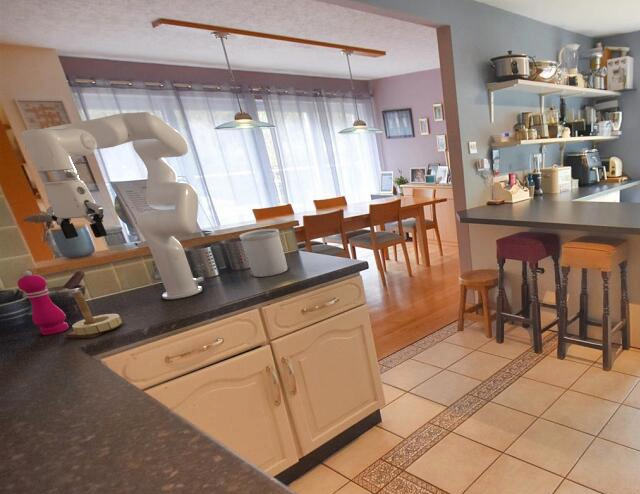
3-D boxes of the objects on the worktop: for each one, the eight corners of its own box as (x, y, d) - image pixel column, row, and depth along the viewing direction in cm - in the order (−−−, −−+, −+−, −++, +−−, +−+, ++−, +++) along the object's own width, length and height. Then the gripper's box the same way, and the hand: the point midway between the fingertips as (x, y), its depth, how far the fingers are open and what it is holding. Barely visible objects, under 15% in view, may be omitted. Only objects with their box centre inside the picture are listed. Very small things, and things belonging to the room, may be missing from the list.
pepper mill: (51, 336, 134) (20, 274, 127) (33, 335, 136) (1, 274, 128) (77, 326, 141) (49, 267, 133) (60, 326, 142) (31, 267, 135)
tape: (99, 321, 141) (96, 314, 140) (130, 320, 140) (127, 313, 139) (65, 335, 131) (62, 328, 130) (98, 334, 130) (95, 327, 129)
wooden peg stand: (96, 325, 140) (78, 287, 135) (121, 325, 139) (104, 286, 134) (67, 338, 132) (47, 297, 127) (93, 337, 131) (74, 296, 126)
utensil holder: (262, 279, 179) (250, 237, 173) (244, 275, 187) (232, 234, 181) (295, 269, 191) (285, 229, 184) (277, 266, 198) (266, 227, 192)
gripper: (100, 174, 124) (124, 233, 131) (47, 177, 126) (74, 235, 133) (73, 177, 117) (100, 239, 124) (18, 180, 119) (47, 241, 126)
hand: (86, 237), depth 128 cm, fingers open, 9 cm apart
